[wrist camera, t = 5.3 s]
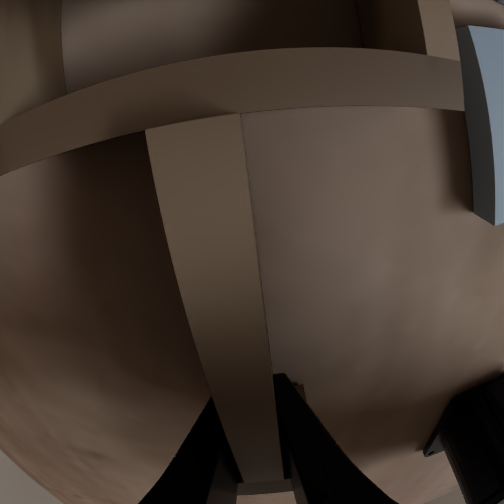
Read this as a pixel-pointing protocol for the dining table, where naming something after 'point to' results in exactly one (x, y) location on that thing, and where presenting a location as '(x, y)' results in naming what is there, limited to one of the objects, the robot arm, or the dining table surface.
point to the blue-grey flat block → (484, 116)
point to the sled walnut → (219, 167)
